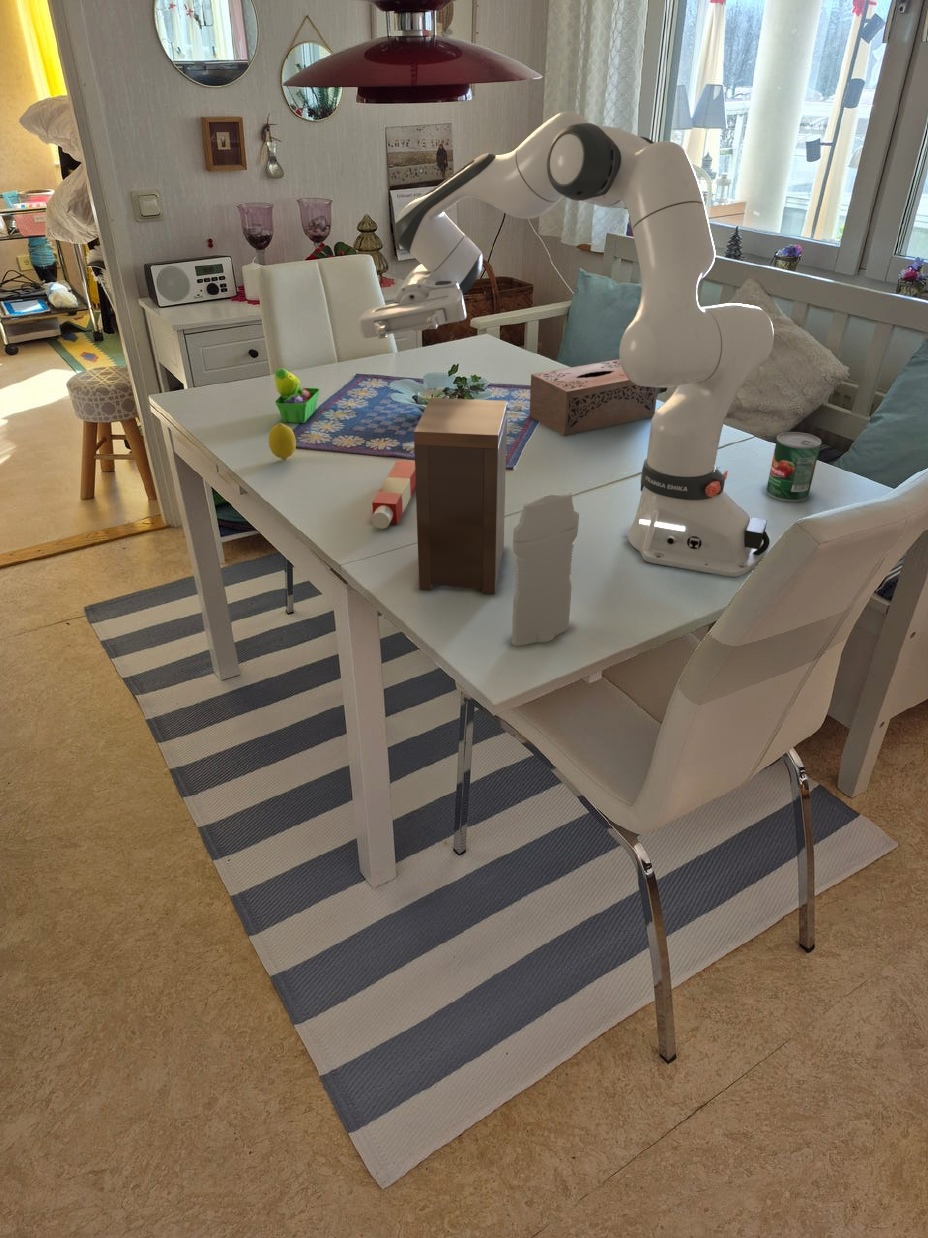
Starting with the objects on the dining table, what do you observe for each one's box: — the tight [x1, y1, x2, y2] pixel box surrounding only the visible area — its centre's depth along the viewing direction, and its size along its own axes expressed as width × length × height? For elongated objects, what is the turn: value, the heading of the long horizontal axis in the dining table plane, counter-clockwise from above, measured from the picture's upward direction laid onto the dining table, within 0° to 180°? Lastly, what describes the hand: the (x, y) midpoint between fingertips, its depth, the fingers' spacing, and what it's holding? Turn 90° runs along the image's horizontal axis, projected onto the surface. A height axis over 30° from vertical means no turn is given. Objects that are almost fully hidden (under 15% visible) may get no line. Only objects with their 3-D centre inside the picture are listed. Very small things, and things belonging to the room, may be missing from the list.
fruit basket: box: [274, 367, 321, 424], centre depth 200 cm, size 11×9×11 cm
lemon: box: [268, 422, 297, 461], centre depth 178 cm, size 6×6×8 cm
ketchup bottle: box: [371, 459, 416, 530], centre depth 161 cm, size 23×4×4 cm, turn 171°
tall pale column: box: [511, 492, 580, 647], centre depth 118 cm, size 11×4×22 cm, turn 120°
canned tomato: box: [765, 431, 822, 503], centre depth 163 cm, size 8×8×11 cm
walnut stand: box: [413, 397, 508, 595], centre depth 134 cm, size 15×12×26 cm
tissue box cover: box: [528, 358, 659, 436], centre depth 200 cm, size 26×14×10 cm, turn 119°
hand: (406, 329), depth 153 cm, fingers open, 8 cm apart
